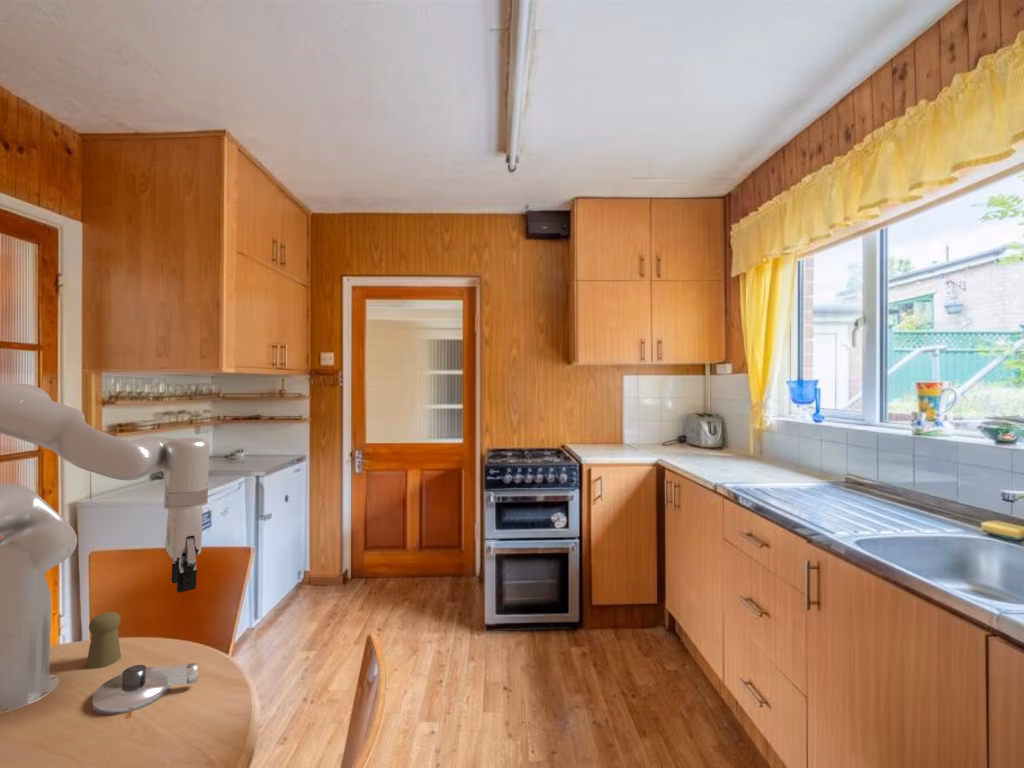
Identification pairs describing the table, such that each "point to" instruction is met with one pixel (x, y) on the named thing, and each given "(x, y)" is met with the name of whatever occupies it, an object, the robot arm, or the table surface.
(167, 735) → the table surface
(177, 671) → the dial
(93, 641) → the olive pepper mill
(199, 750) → the table surface
